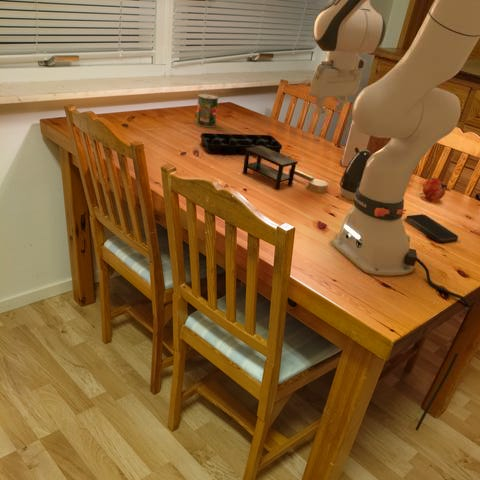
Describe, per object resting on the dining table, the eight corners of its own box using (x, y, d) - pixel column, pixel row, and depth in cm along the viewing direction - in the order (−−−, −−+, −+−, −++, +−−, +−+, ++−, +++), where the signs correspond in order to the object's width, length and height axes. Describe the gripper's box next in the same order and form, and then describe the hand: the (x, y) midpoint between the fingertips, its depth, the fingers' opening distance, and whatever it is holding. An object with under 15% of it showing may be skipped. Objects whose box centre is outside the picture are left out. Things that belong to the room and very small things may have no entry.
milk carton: (360, 169, 177) (375, 115, 166) (341, 166, 178) (355, 112, 166) (360, 163, 183) (375, 111, 171) (342, 160, 183) (355, 107, 172)
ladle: (329, 191, 156) (332, 182, 154) (318, 194, 152) (320, 185, 150) (294, 175, 164) (296, 166, 162) (283, 178, 160) (284, 169, 158)
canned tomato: (194, 121, 199) (196, 92, 193) (212, 122, 202) (215, 93, 195) (198, 127, 194) (200, 97, 187) (217, 127, 196) (220, 99, 189)
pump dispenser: (357, 191, 159) (370, 144, 150) (374, 204, 152) (389, 156, 143) (330, 191, 156) (342, 144, 147) (347, 205, 148) (361, 156, 139)
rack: (292, 185, 156) (297, 161, 151) (277, 190, 151) (282, 165, 146) (257, 168, 164) (260, 145, 159) (241, 172, 159) (244, 148, 154)
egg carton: (286, 155, 179) (288, 145, 177) (215, 160, 165) (216, 149, 163) (261, 140, 191) (263, 130, 188) (193, 143, 177) (194, 132, 174)
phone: (439, 239, 134) (405, 215, 144) (438, 243, 135) (403, 219, 145) (460, 237, 137) (424, 214, 147) (458, 240, 138) (423, 217, 148)
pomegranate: (413, 203, 163) (437, 196, 154) (412, 182, 163) (436, 173, 154) (429, 204, 166) (453, 197, 157) (428, 183, 166) (452, 175, 157)
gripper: (328, 63, 128) (317, 117, 136) (368, 62, 141) (356, 112, 149) (309, 58, 132) (299, 111, 140) (351, 57, 144) (339, 106, 152)
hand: (329, 111), depth 145 cm, fingers open, 8 cm apart
